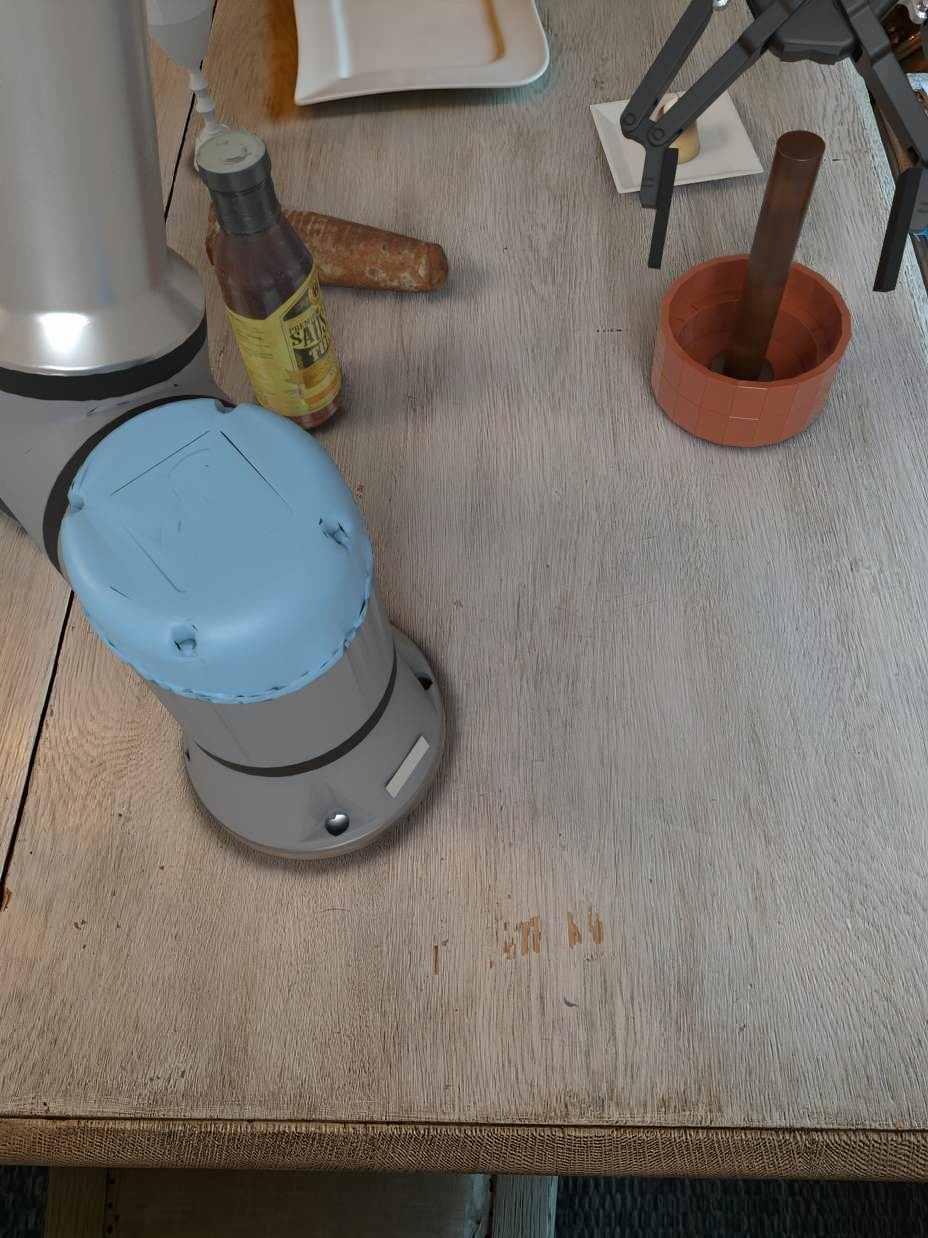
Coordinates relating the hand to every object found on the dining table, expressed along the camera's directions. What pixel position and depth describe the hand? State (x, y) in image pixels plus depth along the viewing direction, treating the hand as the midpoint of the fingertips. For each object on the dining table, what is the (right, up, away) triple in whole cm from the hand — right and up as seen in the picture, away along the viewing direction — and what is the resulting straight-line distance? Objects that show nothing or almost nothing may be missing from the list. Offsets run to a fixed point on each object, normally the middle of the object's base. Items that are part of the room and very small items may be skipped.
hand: (766, 279), depth 58 cm
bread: (-29, +7, +19) cm, 35 cm away
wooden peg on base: (+1, -4, +9) cm, 10 cm away
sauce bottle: (-30, -5, +12) cm, 33 cm away
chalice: (-40, +20, +27) cm, 52 cm away
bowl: (+1, -4, +10) cm, 11 cm away
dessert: (-1, +19, +23) cm, 30 cm away
